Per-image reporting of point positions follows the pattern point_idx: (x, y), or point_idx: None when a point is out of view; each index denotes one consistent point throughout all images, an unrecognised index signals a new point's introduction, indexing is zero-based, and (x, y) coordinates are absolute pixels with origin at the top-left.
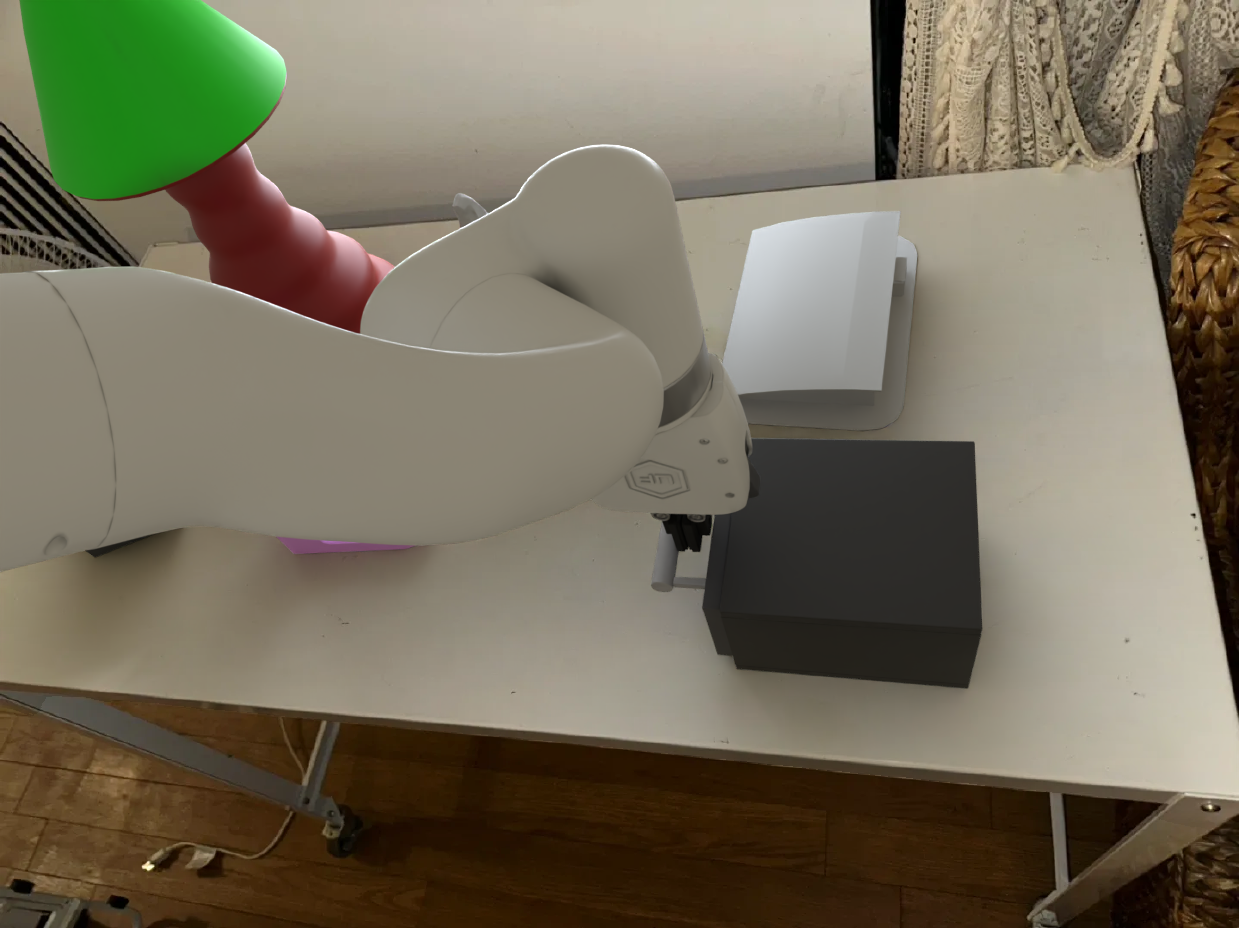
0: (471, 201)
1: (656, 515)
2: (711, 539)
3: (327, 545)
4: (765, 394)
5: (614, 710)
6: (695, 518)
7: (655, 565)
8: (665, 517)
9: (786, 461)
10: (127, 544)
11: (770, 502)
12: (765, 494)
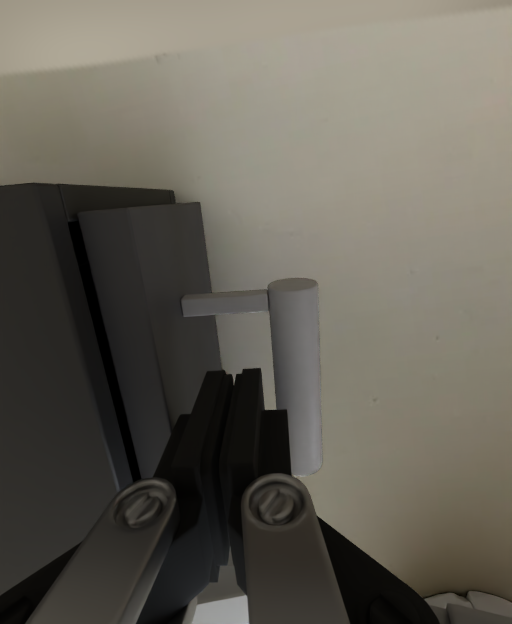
0: None
1: (298, 495)
2: (167, 407)
3: None
4: (228, 577)
5: (362, 71)
6: (159, 490)
7: (314, 330)
8: (265, 488)
9: None
10: None
11: (33, 512)
12: (52, 530)
